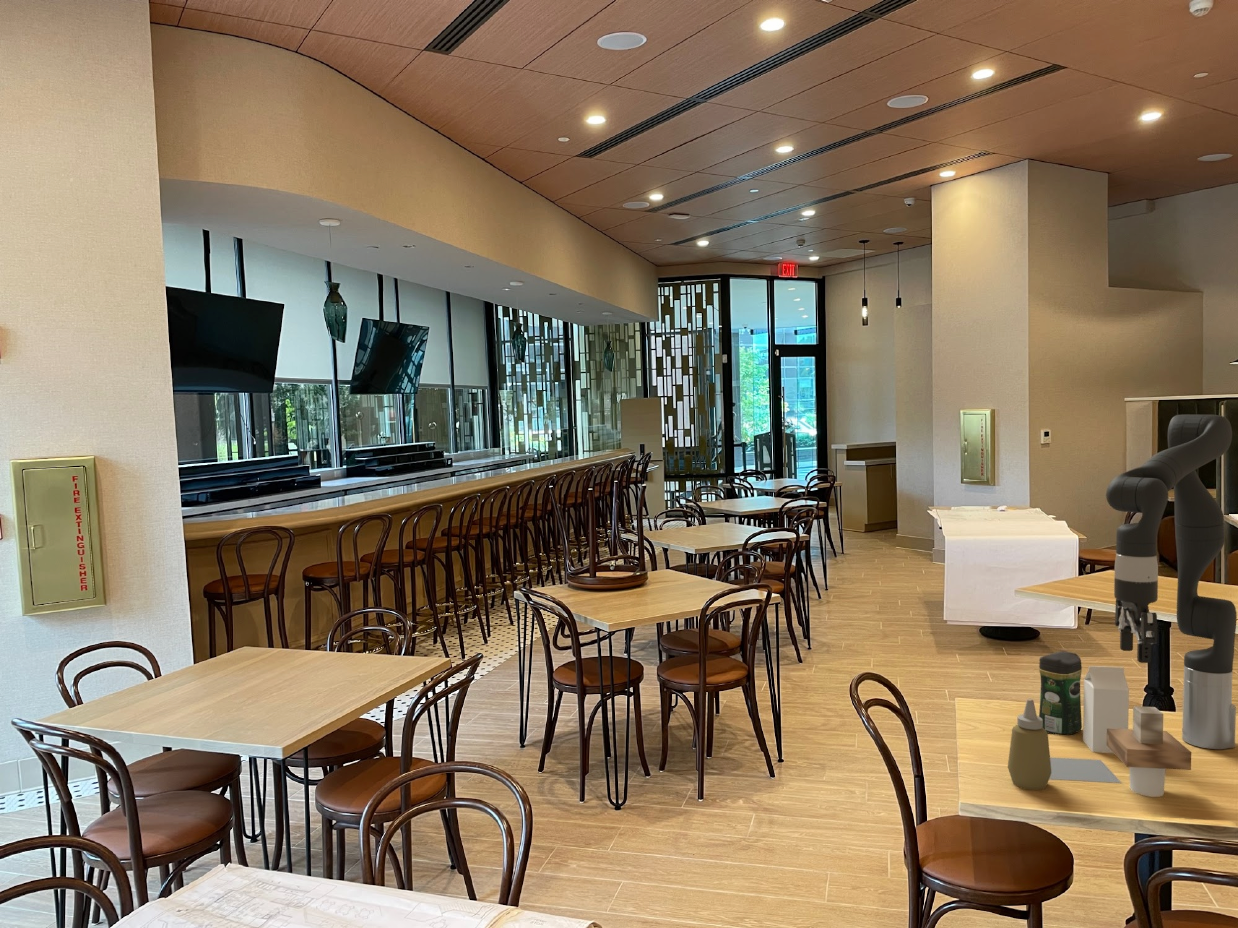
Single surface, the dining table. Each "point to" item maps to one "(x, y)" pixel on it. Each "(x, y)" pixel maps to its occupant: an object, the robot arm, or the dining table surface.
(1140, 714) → the tan plate with knob
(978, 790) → the dining table surface
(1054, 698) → the coffee jar
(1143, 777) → the white cup
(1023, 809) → the dining table surface
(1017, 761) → the squeeze bottle
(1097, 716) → the milk carton
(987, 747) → the dining table surface
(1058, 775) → the rubber mat
